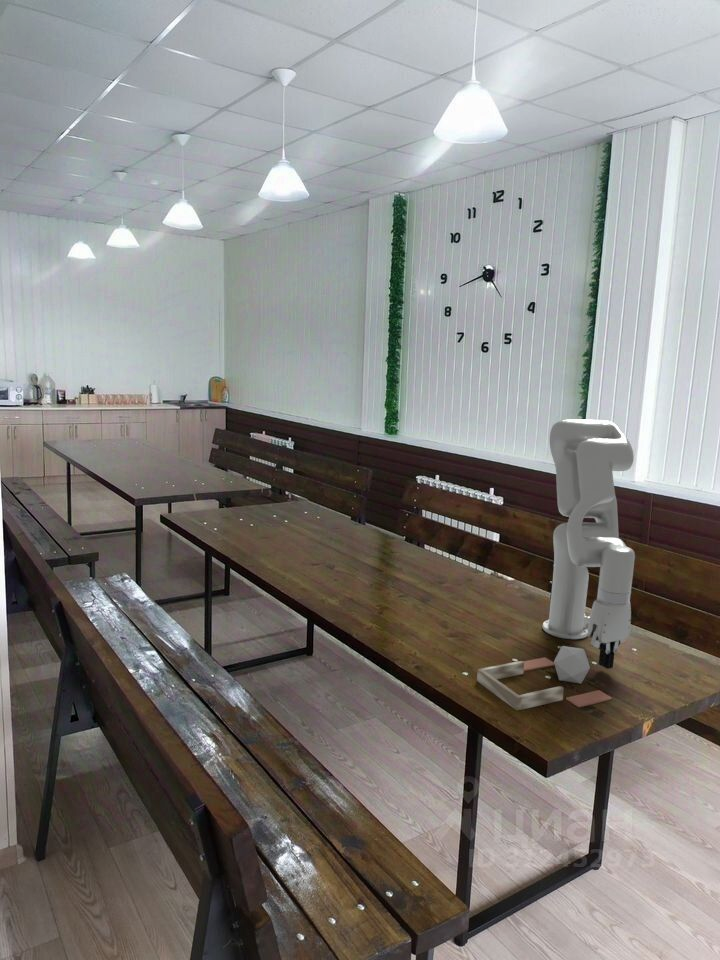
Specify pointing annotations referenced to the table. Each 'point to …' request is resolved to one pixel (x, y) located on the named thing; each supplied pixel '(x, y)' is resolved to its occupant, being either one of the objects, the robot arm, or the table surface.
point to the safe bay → (510, 697)
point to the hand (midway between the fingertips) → (605, 666)
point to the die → (571, 664)
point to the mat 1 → (537, 664)
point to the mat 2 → (588, 698)
